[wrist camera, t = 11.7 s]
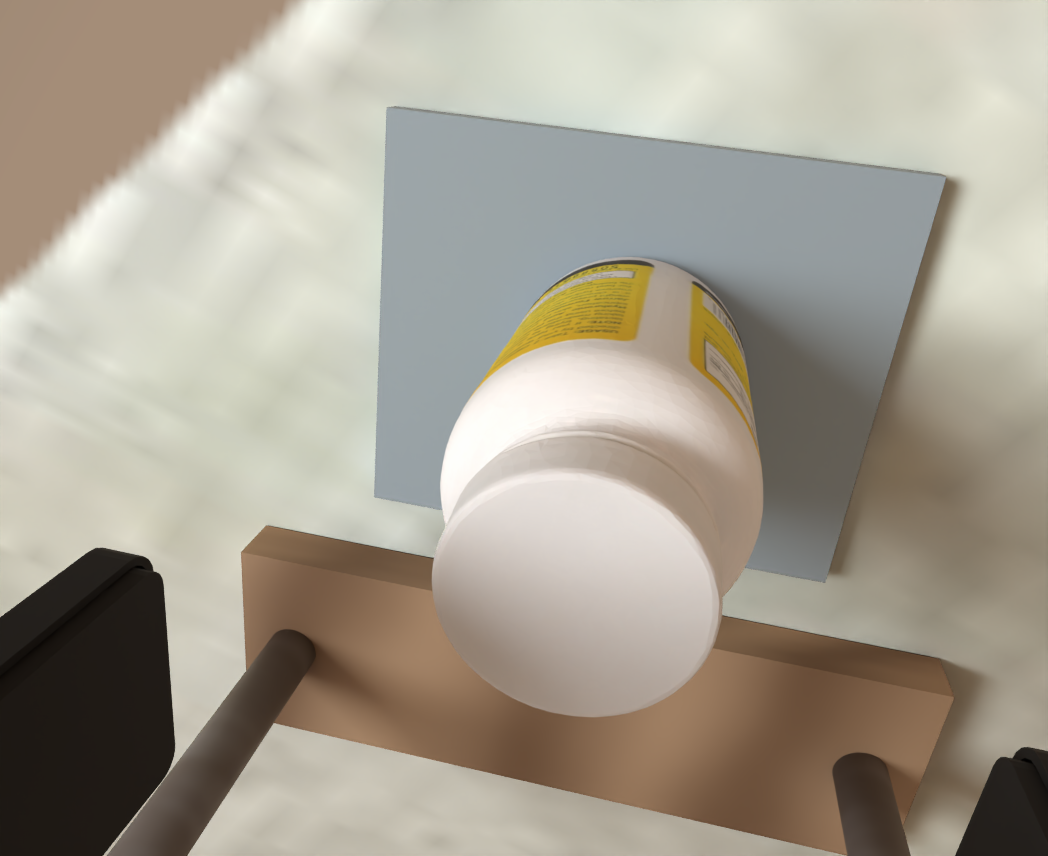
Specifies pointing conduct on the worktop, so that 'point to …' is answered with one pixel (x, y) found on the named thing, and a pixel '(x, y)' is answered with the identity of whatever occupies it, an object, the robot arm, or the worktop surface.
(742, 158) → the mat
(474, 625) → the supplement bottle
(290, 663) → the wire arch
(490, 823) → the worktop surface
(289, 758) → the worktop surface
